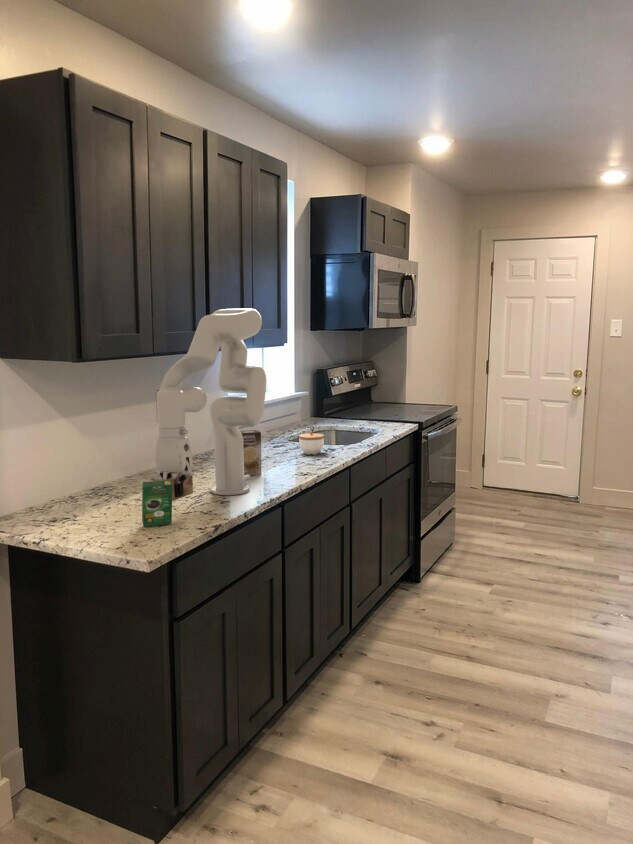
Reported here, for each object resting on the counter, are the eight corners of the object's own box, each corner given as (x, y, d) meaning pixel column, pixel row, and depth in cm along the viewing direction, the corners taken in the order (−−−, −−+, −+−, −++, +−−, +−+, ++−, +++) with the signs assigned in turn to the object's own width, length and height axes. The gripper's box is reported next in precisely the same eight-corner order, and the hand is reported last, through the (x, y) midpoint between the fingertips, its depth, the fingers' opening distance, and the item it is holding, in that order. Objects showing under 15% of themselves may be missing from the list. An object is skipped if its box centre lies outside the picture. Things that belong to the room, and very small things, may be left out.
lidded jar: (315, 456, 281) (315, 434, 280) (294, 454, 287) (294, 432, 286) (328, 452, 290) (328, 430, 289) (307, 449, 296) (307, 428, 295)
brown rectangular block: (186, 492, 203) (185, 472, 202) (193, 493, 201) (192, 473, 201) (155, 503, 190) (154, 482, 189) (162, 504, 189) (162, 483, 188)
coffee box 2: (237, 477, 246) (236, 433, 244) (233, 473, 252) (232, 430, 250) (262, 474, 249) (261, 431, 247) (257, 471, 255) (256, 429, 253)
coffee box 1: (171, 519, 192) (171, 478, 186) (172, 524, 189) (172, 483, 184) (142, 522, 189) (141, 481, 184) (143, 527, 187) (142, 486, 181)
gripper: (203, 432, 193) (205, 495, 195) (158, 429, 200) (160, 490, 203) (187, 436, 186) (189, 501, 189) (141, 433, 193) (144, 495, 196)
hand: (174, 495), depth 196 cm, fingers closed on brown rectangular block, 2 cm apart
